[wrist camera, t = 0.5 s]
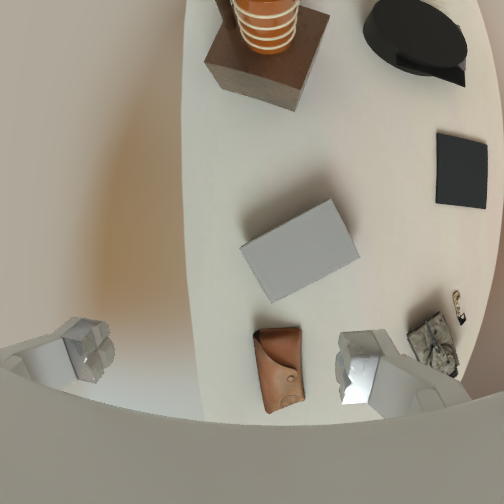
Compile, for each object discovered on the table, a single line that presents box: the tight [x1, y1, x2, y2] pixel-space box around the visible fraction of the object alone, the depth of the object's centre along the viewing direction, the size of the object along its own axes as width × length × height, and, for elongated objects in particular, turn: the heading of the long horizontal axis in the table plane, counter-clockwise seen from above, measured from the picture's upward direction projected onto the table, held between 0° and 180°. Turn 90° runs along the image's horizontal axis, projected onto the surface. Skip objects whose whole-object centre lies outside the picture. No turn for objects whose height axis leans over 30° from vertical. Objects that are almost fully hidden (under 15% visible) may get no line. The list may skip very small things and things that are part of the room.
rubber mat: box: [436, 133, 488, 209], centre depth 41 cm, size 12×12×1 cm
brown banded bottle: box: [232, 0, 299, 54], centre depth 21 cm, size 6×6×16 cm
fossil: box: [453, 292, 466, 325], centre depth 47 cm, size 8×2×1 cm, turn 34°
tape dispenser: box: [363, 0, 467, 87], centre depth 33 cm, size 14×18×8 cm
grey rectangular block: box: [240, 198, 360, 303], centre depth 45 cm, size 10×4×15 cm
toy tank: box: [407, 312, 460, 378], centre depth 44 cm, size 8×18×10 cm, turn 36°
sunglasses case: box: [253, 328, 305, 414], centre depth 51 cm, size 18×7×7 cm
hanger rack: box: [204, 0, 330, 112], centre depth 23 cm, size 12×12×36 cm
